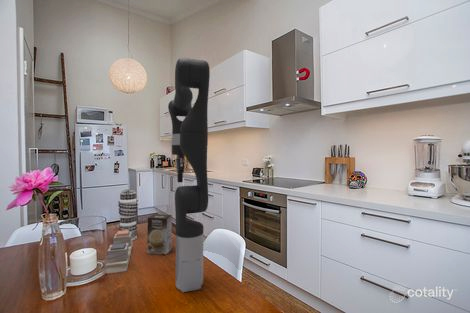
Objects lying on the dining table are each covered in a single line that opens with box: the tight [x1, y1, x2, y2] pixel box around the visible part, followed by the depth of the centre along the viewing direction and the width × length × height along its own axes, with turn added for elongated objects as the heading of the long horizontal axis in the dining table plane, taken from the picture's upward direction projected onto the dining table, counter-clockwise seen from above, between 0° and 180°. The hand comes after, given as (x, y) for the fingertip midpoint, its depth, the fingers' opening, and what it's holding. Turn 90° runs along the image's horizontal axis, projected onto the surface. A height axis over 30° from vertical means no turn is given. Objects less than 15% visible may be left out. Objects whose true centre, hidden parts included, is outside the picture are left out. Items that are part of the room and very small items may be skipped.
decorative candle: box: [117, 188, 139, 241], centre depth 120 cm, size 9×9×25 cm
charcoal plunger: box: [111, 243, 125, 250], centre depth 90 cm, size 4×4×5 cm
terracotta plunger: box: [116, 230, 129, 237], centre depth 103 cm, size 4×4×5 cm
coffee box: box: [146, 213, 173, 256], centre depth 104 cm, size 9×6×16 cm
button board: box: [105, 232, 133, 275], centre depth 97 cm, size 24×7×8 cm, turn 19°
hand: (180, 182), depth 106 cm, fingers closed
